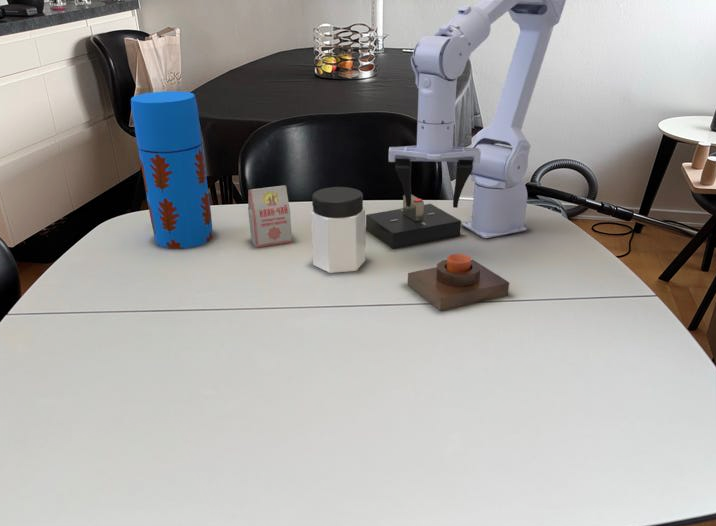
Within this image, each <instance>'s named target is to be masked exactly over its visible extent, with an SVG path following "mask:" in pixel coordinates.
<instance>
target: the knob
mask: <svg viewBox="0 0 716 526" xmlns="http://www.w3.org/2000/svg"><path fill="white" fill-rule="evenodd" d="M402 198H403V199H402V209H403V214H404V215H405V216H407V217H408V218H410V219H412V220H413V221H415V222H419V221H423V212H424V205H425V201H424V199H422V198H419V197H417V196H415V195H414V194H411V207H407V206H406V198H405V194H403V195H402Z"/></svg>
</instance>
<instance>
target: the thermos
mask: <svg viewBox="0 0 716 526" xmlns="http://www.w3.org/2000/svg"><path fill="white" fill-rule="evenodd" d="M130 107H131V109H130V110H131V116H132V120H133V127H134V133H135V139H136V145H137V147H138V149H137V150H138V155H139V159H140V160H139V161H140V167H141V172H142V178H143V183H144V190H145V194H146V195H145V196H146V200H147V206H148V212H149V219H150V222H151V227H152V231H153V235H154V241H155V243H156V244H157V245H158V246H160V247H162V248H166V249H175V250H177V249H178V250H179V249H190V248H195V247H199V246H203V245H205V244H207V243H209V242H210V241H211V240H212V239H213V235H214V234H213V233H214V232H213V221H212V210H211V209H212V208H211V203H210V201H211V200H210V194H209V187H208V179H207V170H206V163H205V156H204V148H203V141H202V140H203V139H202V132H201V131H202V130H201V124H200V116H199V108H198V103H197V98H196V94H194V93H193V92H188V91H181V90H180V91H178V90H171V91H170V90H165V91H154V92H145V93H141V94H138V95H135V96H132V97H131V99H130Z"/></svg>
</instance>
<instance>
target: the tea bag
mask: <svg viewBox="0 0 716 526" xmlns="http://www.w3.org/2000/svg"><path fill="white" fill-rule="evenodd" d="M287 189H288V188H287V185H278V186H277V185H276V186H269V187H262V188H260V187H259V188H253V189H252V188H251V189H248V191H247V193H248V194H247V195H248V196H247V199H248V201H247V203H248V204H247V206H248V207H247V212H248V219H249V220H248V222H249V231H250V233H249V234H250V241H251V243H252V244H253V245H254V247H255V248H263V247H270V246H276V245H282V244H289V243H293V236H292V235H293V234H292V233H293V232H292V219H291V218H292V217H291V207H290V202H289V196H288V190H287Z"/></svg>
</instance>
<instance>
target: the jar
mask: <svg viewBox="0 0 716 526" xmlns="http://www.w3.org/2000/svg"><path fill="white" fill-rule="evenodd" d="M311 203H312V204H311V205H312V211H311V212H310V226H311V245H312V246H311V247H312V248H311V249H312V264H313V266H314V267H316V268H318V269H320V270H323V271H325V272H327V273H328V274H336V273H347V272H348V273H349V272H357V271H358V269H359V268H360V267H361V266H362V265H363V264H364V263H365V262H366V208H365V207H363V206H364V194H363V192H361V190H360V189H357V188H353V187H347V186H332V187H324V188H321V189H318V190H316V191H315V192H313V194H312V200H311Z"/></svg>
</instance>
